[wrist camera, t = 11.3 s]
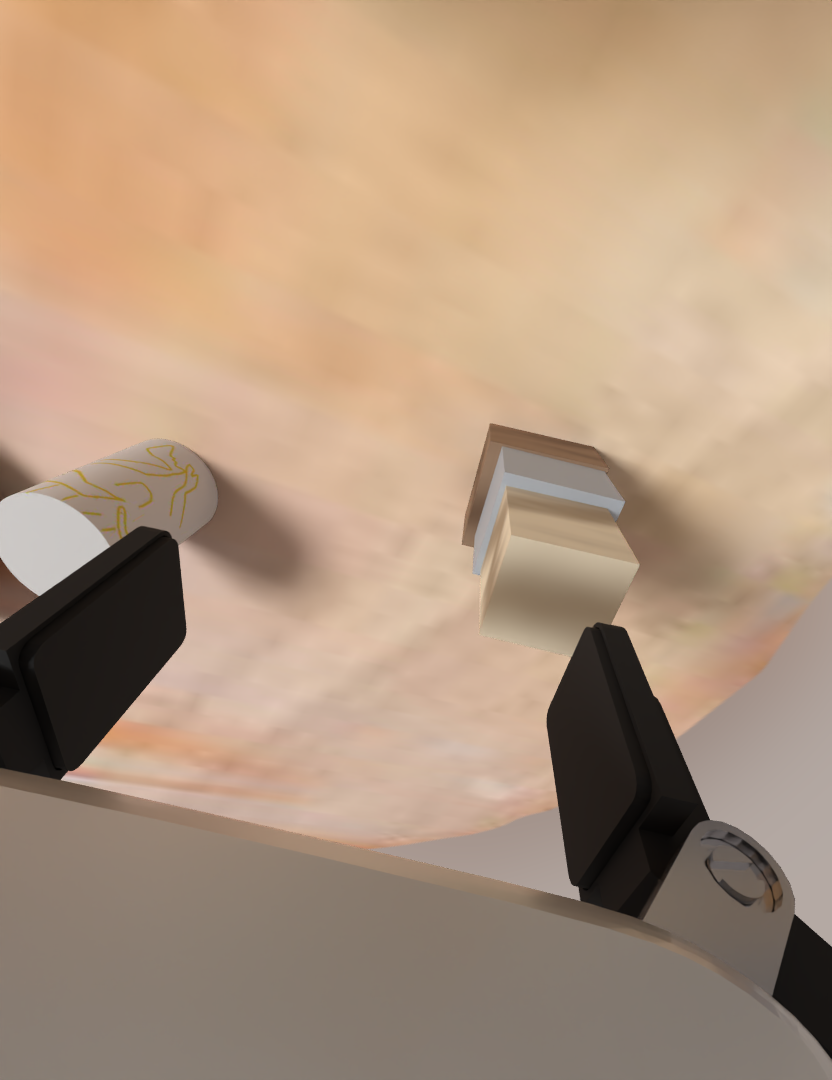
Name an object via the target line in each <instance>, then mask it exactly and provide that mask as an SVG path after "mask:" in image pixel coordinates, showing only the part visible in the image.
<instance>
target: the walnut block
mask: <svg viewBox="0 0 832 1080" xmlns="http://www.w3.org/2000/svg"><path fill="white" fill-rule="evenodd" d="M502 446H503V447H507V448H512V449H516V450H520V451H524V452H528V453H532V454H536V455H540V456H544V457H548V458H552V459H556V460H560V461H564V462H569V463H573V464H577V465H581V466H585V467H589V468H593V469H597V470H601V471H605V473H606V474H607V473H608V470H609V468H608V466H607V465H606V463H605V462H604V461H603V459H602V458H601V457H600V455H599V454H598V452H597V451H596V450H595V448H594V447H592V446H587V445H583V444H578V443H574V442H570V441H565V440H561V439H557V438H552V437H548V436H544V435H539V434H535V433H531V432H526V431H522V430H518V429H513V428H509V427H504V426H500V425H496V424H491V423H490V426H489V429H488V433H487V437H486V441H485V444H484V448H483V452H482V455H481V459H480V463H479V466H478V470H477V474H476V477H475V481H474V485H473V489H472V492H471V496H470V500H469V503H468V507H467V511H466V514H465V521H464V530H463V538H462V545H466V546H470V547H474V540H475V534H476V530H477V527H478V524H479V521H480V517H481V514H482V511H483V507H484V504H485V501H486V498H487V494H488V491H489V488H490V484H491V481H492V478H493V475H494V471H495V468H496V465H497V462H498V458H499V455H500V452H501V448H502Z"/></svg>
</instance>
